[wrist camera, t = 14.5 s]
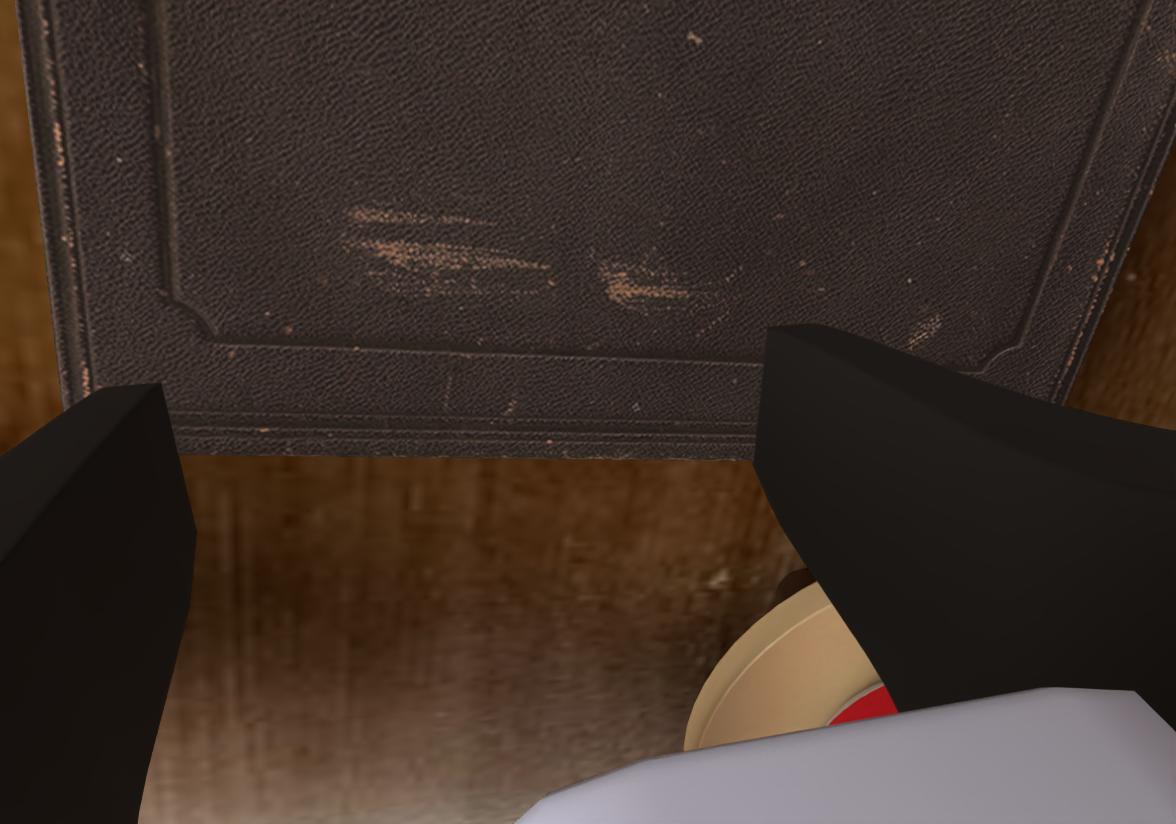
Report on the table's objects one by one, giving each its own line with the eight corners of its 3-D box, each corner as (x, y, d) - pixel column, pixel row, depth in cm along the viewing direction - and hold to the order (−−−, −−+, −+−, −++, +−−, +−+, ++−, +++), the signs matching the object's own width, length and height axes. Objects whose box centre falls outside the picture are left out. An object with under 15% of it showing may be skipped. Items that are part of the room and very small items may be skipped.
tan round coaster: (655, 825, 32) (682, 907, 30) (672, 534, 27) (707, 605, 24) (976, 763, 35) (1027, 834, 32) (1056, 484, 29) (1126, 542, 26)
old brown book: (991, 423, 27) (1042, 465, 25) (92, 401, 21) (66, 455, 19) (1249, -256, 20) (1349, -270, 18) (-7, -583, 14) (-64, -660, 12)
